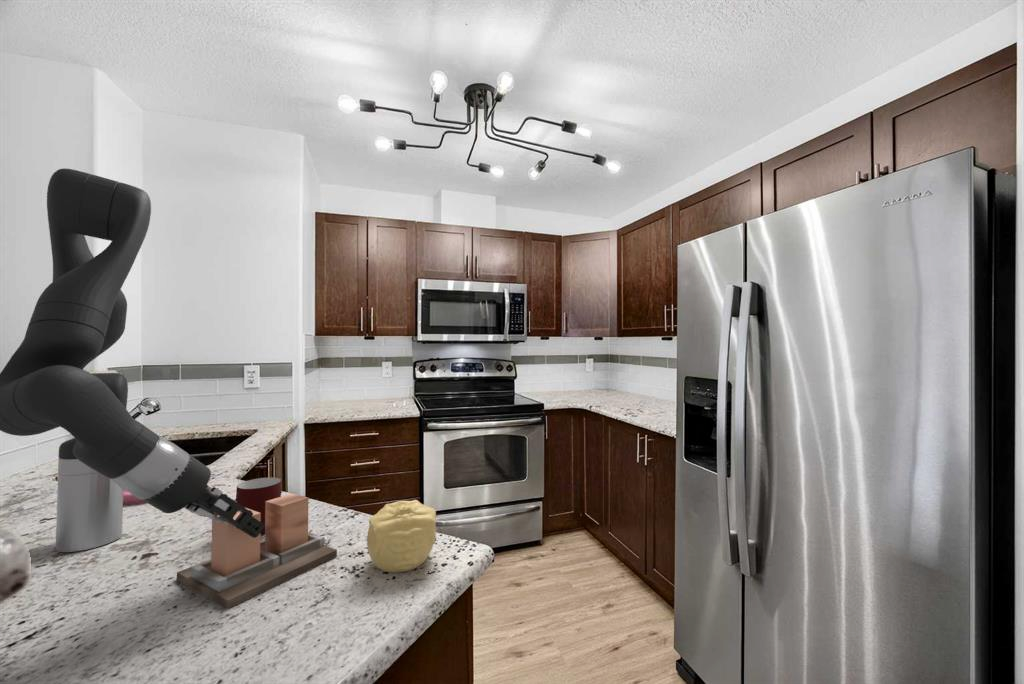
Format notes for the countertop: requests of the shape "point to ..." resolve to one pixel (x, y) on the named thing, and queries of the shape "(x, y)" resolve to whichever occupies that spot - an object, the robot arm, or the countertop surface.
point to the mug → (258, 494)
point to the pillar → (233, 547)
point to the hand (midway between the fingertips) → (245, 526)
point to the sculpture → (401, 535)
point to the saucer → (131, 498)
